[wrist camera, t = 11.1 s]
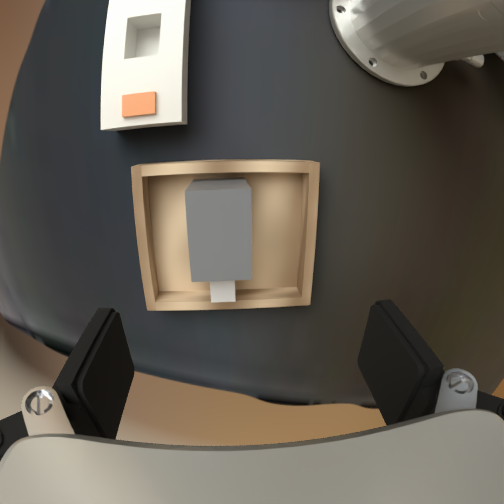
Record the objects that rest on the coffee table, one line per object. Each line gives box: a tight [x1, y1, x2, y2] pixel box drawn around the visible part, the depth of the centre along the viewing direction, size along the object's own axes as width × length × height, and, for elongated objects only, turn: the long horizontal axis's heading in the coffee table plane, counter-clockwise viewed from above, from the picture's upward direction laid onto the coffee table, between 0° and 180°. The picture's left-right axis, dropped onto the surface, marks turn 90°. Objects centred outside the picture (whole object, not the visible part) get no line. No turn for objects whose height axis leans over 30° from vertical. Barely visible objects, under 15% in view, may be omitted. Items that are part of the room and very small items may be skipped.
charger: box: [185, 177, 252, 303], centre depth 22 cm, size 4×6×8 cm
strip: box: [101, 0, 191, 131], centre depth 17 cm, size 6×20×4 cm, turn 0°
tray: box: [131, 159, 320, 310], centre depth 25 cm, size 14×12×3 cm
